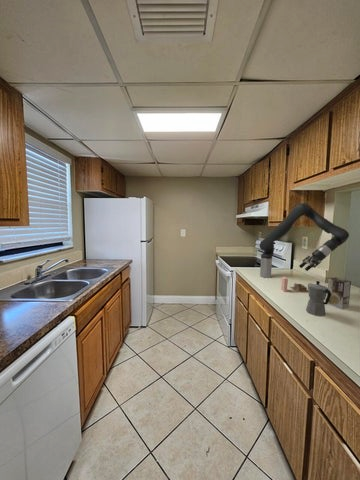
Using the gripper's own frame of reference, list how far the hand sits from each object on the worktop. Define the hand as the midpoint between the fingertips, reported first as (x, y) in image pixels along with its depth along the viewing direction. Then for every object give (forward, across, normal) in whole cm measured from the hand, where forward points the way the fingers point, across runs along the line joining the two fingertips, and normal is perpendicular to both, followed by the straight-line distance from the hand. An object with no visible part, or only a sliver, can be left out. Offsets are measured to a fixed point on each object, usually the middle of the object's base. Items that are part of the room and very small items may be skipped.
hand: (302, 268), depth 143 cm
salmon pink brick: (+20, 0, +4) cm, 21 cm away
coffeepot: (+17, +33, +8) cm, 38 cm away
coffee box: (+4, +20, +21) cm, 29 cm away
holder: (+12, -4, +13) cm, 18 cm away
